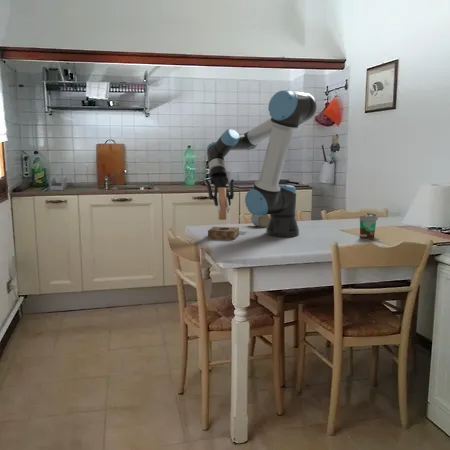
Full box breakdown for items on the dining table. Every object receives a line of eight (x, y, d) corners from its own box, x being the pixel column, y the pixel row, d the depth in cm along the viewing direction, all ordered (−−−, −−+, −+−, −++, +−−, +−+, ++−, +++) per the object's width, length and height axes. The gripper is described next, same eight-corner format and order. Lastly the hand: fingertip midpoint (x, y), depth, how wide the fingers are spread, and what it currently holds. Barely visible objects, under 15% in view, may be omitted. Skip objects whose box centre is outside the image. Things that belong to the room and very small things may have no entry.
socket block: (239, 236, 217) (239, 227, 216) (234, 240, 207) (234, 231, 206) (213, 235, 219) (213, 226, 219) (207, 239, 210) (207, 230, 209)
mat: (247, 232, 226) (247, 231, 226) (244, 235, 218) (244, 234, 218) (226, 231, 228) (226, 230, 228) (223, 234, 220) (223, 234, 220)
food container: (372, 239, 207) (373, 217, 205) (358, 238, 210) (359, 216, 208) (380, 235, 217) (381, 213, 215) (366, 233, 220) (367, 212, 218)
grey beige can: (258, 228, 236) (259, 213, 234) (250, 226, 243) (251, 211, 242) (276, 227, 240) (277, 212, 239) (268, 224, 247) (268, 210, 246)
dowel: (226, 218, 214) (226, 187, 211) (225, 219, 210) (225, 188, 208) (219, 218, 214) (219, 187, 212) (217, 219, 211) (217, 188, 209)
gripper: (233, 175, 225) (240, 215, 212) (199, 176, 223) (204, 216, 210) (236, 165, 219) (243, 205, 206) (200, 165, 217) (206, 206, 203)
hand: (223, 210), depth 208 cm, fingers closed on dowel, 3 cm apart
